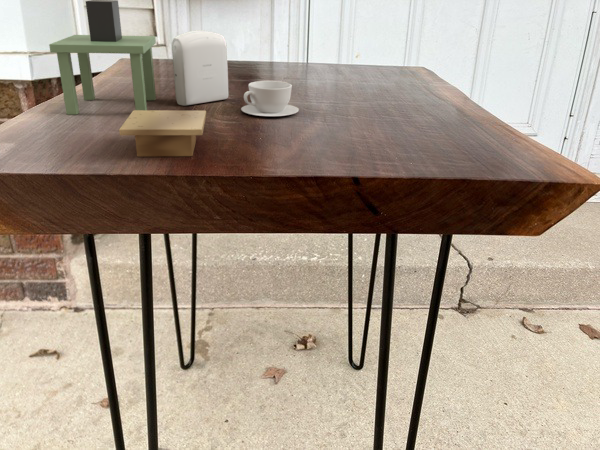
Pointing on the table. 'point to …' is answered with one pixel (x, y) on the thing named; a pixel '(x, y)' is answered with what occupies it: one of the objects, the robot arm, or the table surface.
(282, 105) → the teacup
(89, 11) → the black block
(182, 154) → the low shelf
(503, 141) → the table surface
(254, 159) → the table surface
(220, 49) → the photo printer
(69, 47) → the high shelf
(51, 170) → the table surface
